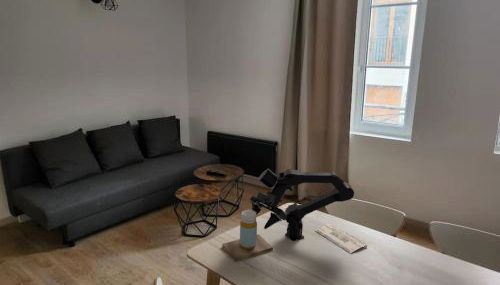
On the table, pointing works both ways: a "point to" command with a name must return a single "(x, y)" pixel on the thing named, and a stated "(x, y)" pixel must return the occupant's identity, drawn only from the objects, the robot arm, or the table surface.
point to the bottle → (248, 229)
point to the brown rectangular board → (241, 253)
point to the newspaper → (340, 238)
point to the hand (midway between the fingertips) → (257, 224)
